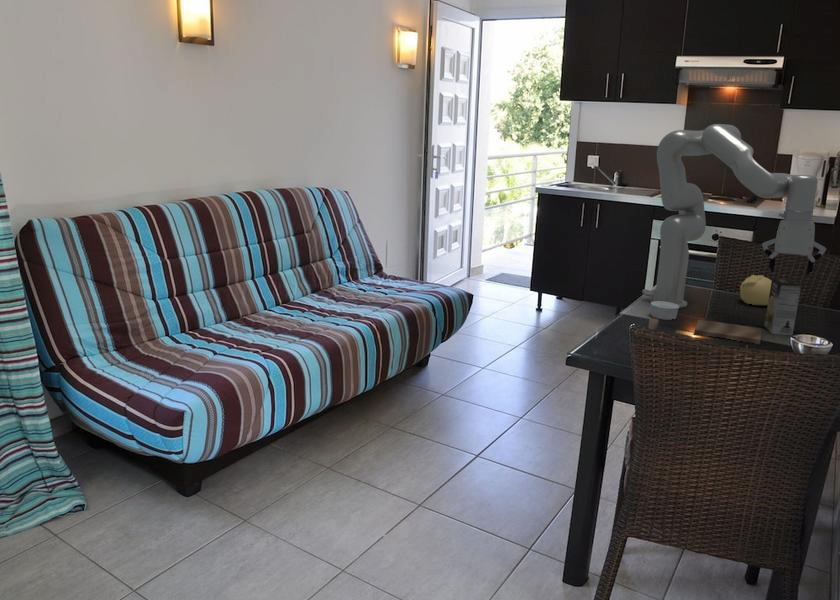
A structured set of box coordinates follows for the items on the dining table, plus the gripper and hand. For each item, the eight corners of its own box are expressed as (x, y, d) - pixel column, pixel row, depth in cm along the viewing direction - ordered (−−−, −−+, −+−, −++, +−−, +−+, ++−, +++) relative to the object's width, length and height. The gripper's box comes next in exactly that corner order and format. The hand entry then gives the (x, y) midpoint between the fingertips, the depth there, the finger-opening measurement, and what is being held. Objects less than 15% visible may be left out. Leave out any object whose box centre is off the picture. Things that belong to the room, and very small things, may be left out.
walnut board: (693, 334, 209) (694, 329, 209) (698, 323, 222) (698, 319, 221) (759, 344, 202) (760, 339, 201) (760, 332, 214) (761, 328, 214)
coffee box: (763, 326, 222) (771, 277, 218) (784, 328, 221) (793, 278, 217) (771, 334, 213) (779, 283, 210) (793, 336, 212) (802, 284, 208)
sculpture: (741, 298, 259) (745, 270, 257) (776, 304, 253) (781, 275, 250) (734, 304, 250) (738, 275, 248) (770, 310, 244) (775, 280, 241)
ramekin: (678, 316, 231) (680, 303, 230) (676, 322, 223) (678, 309, 222) (651, 312, 235) (652, 299, 234) (647, 318, 227) (649, 305, 226)
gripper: (766, 215, 209) (758, 271, 213) (832, 220, 201) (822, 277, 205) (766, 213, 215) (758, 268, 219) (830, 217, 208) (821, 273, 212)
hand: (789, 272), depth 212 cm, fingers open, 9 cm apart
